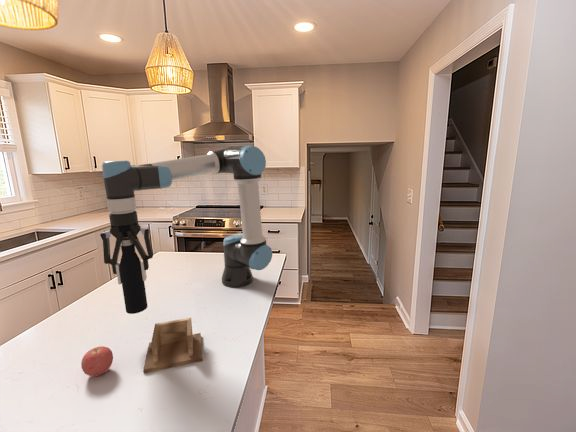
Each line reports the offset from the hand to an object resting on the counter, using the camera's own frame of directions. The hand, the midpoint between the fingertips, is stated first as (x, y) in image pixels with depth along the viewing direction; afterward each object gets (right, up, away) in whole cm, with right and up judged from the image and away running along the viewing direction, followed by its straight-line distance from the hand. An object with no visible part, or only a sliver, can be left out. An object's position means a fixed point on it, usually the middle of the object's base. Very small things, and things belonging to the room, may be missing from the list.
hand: (132, 280), depth 94 cm
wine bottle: (0, -10, +2) cm, 10 cm away
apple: (-3, -24, -12) cm, 27 cm away
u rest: (+15, -22, -4) cm, 27 cm away
